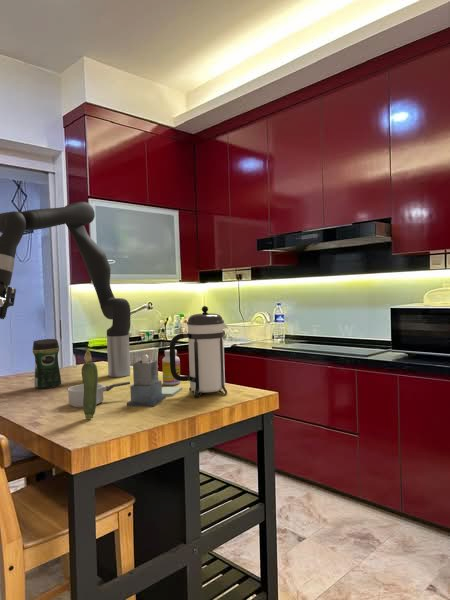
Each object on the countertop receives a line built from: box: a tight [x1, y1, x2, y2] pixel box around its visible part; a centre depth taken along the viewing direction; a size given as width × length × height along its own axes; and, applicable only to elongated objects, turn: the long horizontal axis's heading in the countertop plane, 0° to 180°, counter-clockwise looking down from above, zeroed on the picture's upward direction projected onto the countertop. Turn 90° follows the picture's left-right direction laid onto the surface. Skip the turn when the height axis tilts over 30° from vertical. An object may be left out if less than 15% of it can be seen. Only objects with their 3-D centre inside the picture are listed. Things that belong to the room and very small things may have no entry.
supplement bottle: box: [161, 349, 181, 386], centre depth 168 cm, size 7×7×13 cm
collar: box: [132, 359, 159, 385], centre depth 141 cm, size 6×6×7 cm
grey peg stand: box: [126, 354, 167, 408], centre depth 141 cm, size 11×9×15 cm
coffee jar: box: [32, 338, 62, 389], centre depth 170 cm, size 10×8×19 cm
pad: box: [162, 386, 183, 397], centre depth 154 cm, size 10×10×1 cm
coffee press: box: [169, 305, 228, 399], centre depth 149 cm, size 17×16×30 cm
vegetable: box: [81, 348, 99, 420], centre depth 124 cm, size 4×4×20 cm
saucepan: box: [66, 381, 131, 408], centre depth 143 cm, size 12×20×6 cm, turn 115°
